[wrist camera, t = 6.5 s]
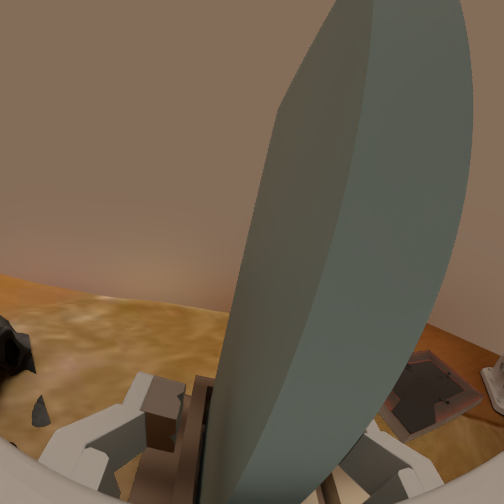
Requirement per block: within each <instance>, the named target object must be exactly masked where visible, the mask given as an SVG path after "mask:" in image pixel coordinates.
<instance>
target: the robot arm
mask: <svg viewBox="0 0 504 504" xmlns="http://www.w3.org/2000/svg"><path fill="white" fill-rule="evenodd" d="M480 373H481V376H482V378H483V381H484V383H485V386H486V388H487V391H488V394H489V397H490V399H491V402H492V405H493V408H494V409H495V410H496V411H497V412H499V413H501V414H503V415H504V354H503V355H502V356H501V357H500V358H499V360H498V361H497V363H496V364H495V366H494V367H493V368H492V367H487V368H483V369H482V370H481V372H480ZM185 389H186V384H184V383H180V382H177V381H173V380H169V379H165V378H162V377H158V376H154V375H150V374H147V373H144V372H141V371H139V372H138V373H137V374H136V376H135V378H134V380H133V382H132V384H131V386H130V389H129V391H128V393H127V395H126V397H125V399H124V401H123V403H122V405H121V404H115V405H113V406H110V407H108V408H106V409H104V410H102V411H99V412H97V413H95V414H93V415H90V416H88V417H86V418H84V419H81V420H79V421H77V422H74V423H72V424H69V425H67V426H64V427H62V428H59V429H57V430H56V431H55V433H54V434H53V436H52V438H51V439H50V441H49V443H48V444H47V446H46V448H45V449H44V451H43V453H42V454H41V456H40V458H39V460H38V461H37V460H35V459H33V458H32V457H30V456H29V455H27V454H25V453H24V452H22V451H21V450H19V449H18V448H16V447H15V446H14V445H12V444H11V443H9V442H8V441H7V440H5V439H4V438H3V437H1V436H0V504H133V503H129V502H126V501H123V500H120V499H119V497H120V493H121V492H120V490H119V487H118V484H117V481H116V478H115V476H114V472H115V471H117V470H118V469H120V468H121V467H122V466H124V465H125V464H126V463H128V462H129V461H131V460H132V459H133V458H135V457H136V456H137V455H139V454H140V453H141V452H143V451H144V450H145V449H147V447H149V448H153V449H157V450H161V451H166V452H170V453H174V451H175V446H176V441H177V436H178V428H179V427H180V423H181V417H182V412H183V405H184V401H183V400H184V395H185ZM338 465H339V467H340V468H341V469H342V470H343V471H344V472H345V473H346V474H347V475H348V476H349V477H351V478H352V479H353V480H354V481H355V482H356V483H357V484H358V485H359V486H360V487H361V488H362V489H363V490H364V491H365V492H366V493H367V494H369V495H370V497H369V498H368V499H367V500H366V501H364V502H363V503H362V504H504V451H502V452H501V453H499V454H498V455H496V456H495V457H493V458H492V459H490V460H488V461H487V462H485V463H483V464H482V465H480V466H478V467H477V468H475V469H473V470H471V471H469V472H468V473H466V474H464V475H462V476H460V477H458V478H456V479H454V480H452V481H450V482H448V483H446V484H444V483H443V481H442V479H441V477H440V476H439V474H438V472H437V470H436V469H435V467H434V465H433V464H432V462H431V460H429V459H428V458H426V457H424V456H422V455H421V454H419V453H417V452H416V451H414V450H413V449H411V448H409V447H408V446H406V445H404V444H403V443H401V442H400V441H398V440H397V439H395V438H393V437H392V436H390V435H389V434H387V433H386V432H384V431H383V432H380V430H379V428H378V426H377V424H376V422H375V420H374V419H373V420H372V421H371V423H370V424H369V426H368V427H367V429H366V430H365V431H364V433H363V434H362V435H361V437H360V438H359V439H358V441H357V442H356V443H355V445H354V446H353V447H352V448H351V450H350V451H349V452H348V453H347V455H346V456H345V457H344V458H343V459H342V461H341V462H340V463H339V464H338Z"/></svg>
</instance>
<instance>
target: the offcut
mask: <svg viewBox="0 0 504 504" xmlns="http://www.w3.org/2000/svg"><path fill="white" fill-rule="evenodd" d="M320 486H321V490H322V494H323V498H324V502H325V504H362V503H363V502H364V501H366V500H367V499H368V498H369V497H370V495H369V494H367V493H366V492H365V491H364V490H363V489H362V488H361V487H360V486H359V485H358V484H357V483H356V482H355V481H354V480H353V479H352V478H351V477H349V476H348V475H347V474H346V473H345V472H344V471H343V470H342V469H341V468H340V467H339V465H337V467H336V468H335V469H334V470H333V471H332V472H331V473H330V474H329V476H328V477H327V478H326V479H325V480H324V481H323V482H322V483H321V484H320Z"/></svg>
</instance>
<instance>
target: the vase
mask: <svg viewBox="0 0 504 504" xmlns="http://www.w3.org/2000/svg"><path fill="white" fill-rule="evenodd" d="M22 358H23V359H22ZM18 362H19V364H18V366H17V367H13V366H15V365H16V364H17V363H18ZM6 363H7V364H9V365H10V366H9V365H7V364H6ZM0 366H2V367H3V368H4V370H5V371H6V372H7V373H8V374H9V375H11V376H14V375H16V374H18V373H20V372H22V371H23V370H29V371H31V372H33V373H35V374H36V371H35V367H34V362H33V358H32V353H31V348H30V342H29V335H27V334H23V333H17V332H16V331H15V330H14V329H13V328H12V326H11V325H10V323H9V322H8V321H7V320H6V319H5V318H3V317H2V316H1V315H0ZM50 423H51V422H50V419H49V417H48V414H47V411H46V407H45V404H44V401H43V398H42V395H41V396H40V397H39V398H38V400H37V402H36V404H35V405H34V409H33V411H32V425H33V426H35V427H44V426H47V425H49V424H50ZM9 443H11V444H12V445H14V446H15V447H16V448H17V446H16V445H15V444H14V443H12V442H9Z"/></svg>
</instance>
